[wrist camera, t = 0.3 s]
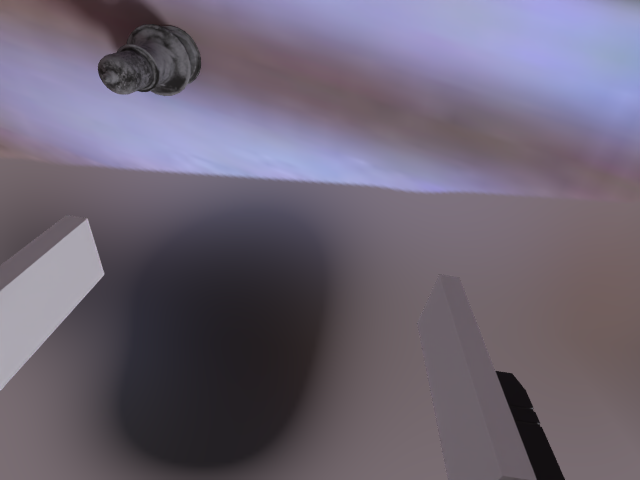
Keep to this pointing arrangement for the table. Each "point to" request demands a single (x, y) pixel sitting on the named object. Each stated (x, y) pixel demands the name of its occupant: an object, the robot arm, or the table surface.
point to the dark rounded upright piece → (152, 62)
